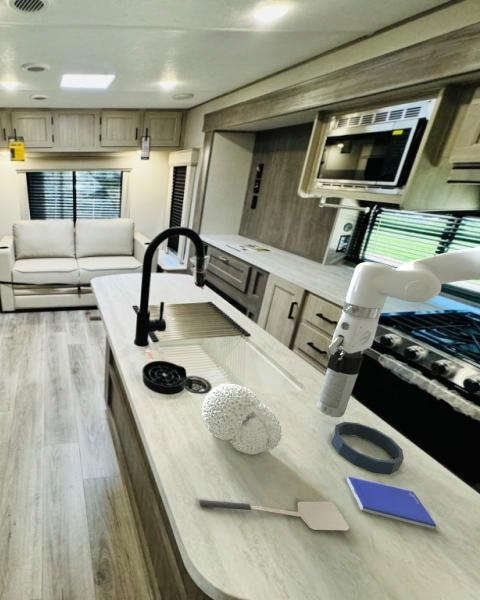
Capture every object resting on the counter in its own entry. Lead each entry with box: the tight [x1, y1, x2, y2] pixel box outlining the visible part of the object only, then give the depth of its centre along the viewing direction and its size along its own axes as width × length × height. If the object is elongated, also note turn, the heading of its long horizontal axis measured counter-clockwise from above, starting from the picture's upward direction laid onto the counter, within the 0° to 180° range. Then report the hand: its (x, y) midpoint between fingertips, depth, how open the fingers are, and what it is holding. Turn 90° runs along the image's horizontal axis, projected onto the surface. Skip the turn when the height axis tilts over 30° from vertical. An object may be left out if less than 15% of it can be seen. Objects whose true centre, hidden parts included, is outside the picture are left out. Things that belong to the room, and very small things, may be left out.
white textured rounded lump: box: [201, 383, 283, 455], centre depth 88 cm, size 20×18×16 cm
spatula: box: [198, 499, 350, 531], centre depth 69 cm, size 6×29×2 cm, turn 82°
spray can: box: [316, 347, 364, 418], centre depth 90 cm, size 7×7×20 cm
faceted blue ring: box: [330, 421, 405, 476], centre depth 83 cm, size 14×14×4 cm
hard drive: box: [346, 476, 437, 530], centre depth 71 cm, size 2×8×12 cm
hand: (342, 366), depth 88 cm, fingers closed on spray can, 6 cm apart
